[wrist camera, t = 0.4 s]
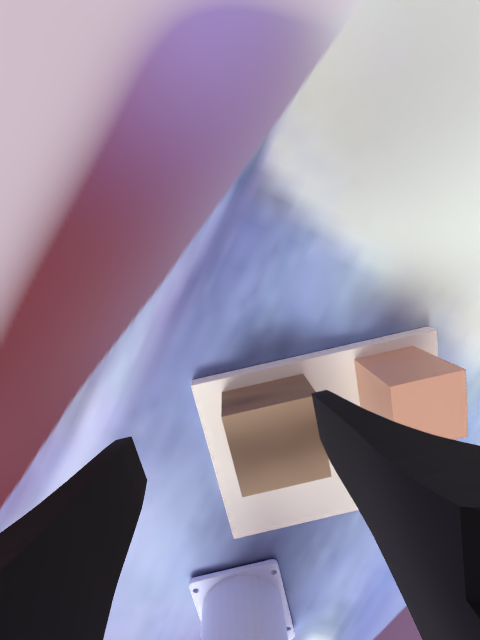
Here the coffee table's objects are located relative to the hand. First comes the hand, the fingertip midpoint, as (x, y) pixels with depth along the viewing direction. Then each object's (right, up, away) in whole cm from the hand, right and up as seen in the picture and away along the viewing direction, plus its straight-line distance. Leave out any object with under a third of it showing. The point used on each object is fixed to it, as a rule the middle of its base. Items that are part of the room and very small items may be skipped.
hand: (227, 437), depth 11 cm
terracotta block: (+11, 0, +10) cm, 15 cm away
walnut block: (+3, -3, +10) cm, 11 cm away
